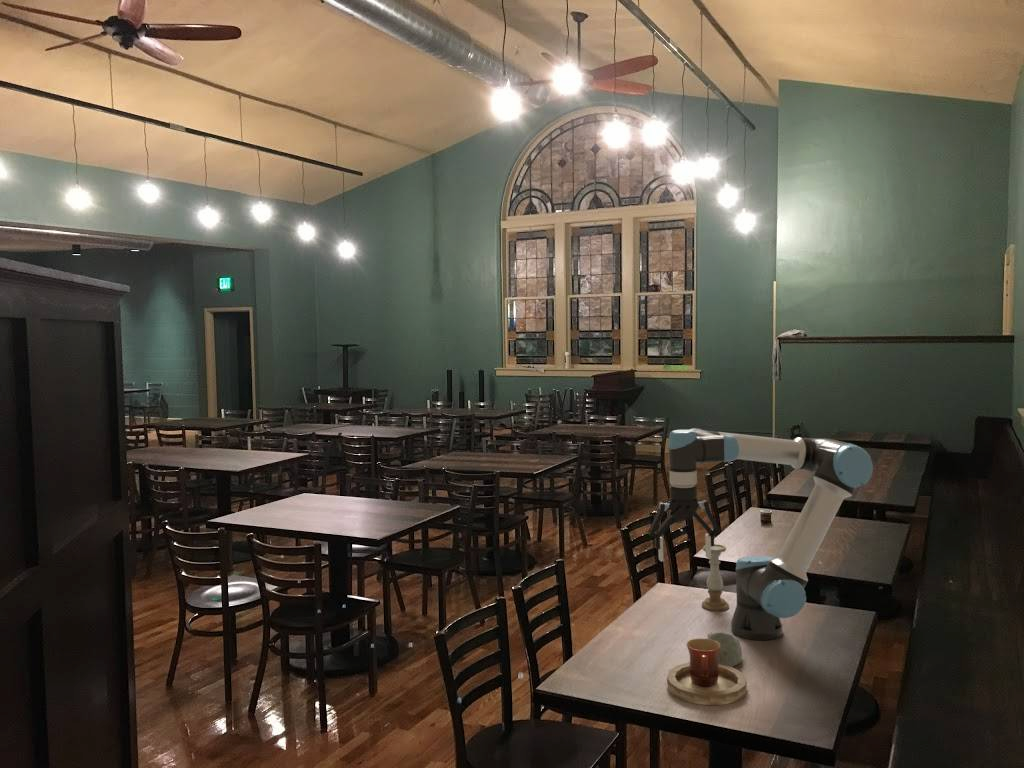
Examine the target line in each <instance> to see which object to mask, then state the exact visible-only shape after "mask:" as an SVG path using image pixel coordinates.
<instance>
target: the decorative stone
mask: <svg viewBox="0 0 1024 768" xmlns="http://www.w3.org/2000/svg"><path fill="white" fill-rule="evenodd" d="M706 637H707V638H706V639H712V640H715V641H717V642H719V643H720V645H721V648H720V651H719V655H718V663H720V664H723V665H727V666H731V667H733V668H734V667H735V666H738V665H739V664H741V662H742V659H743V652H742V650H743V649H742V646H741V643H740V640H739V639H738V638H737V637H735V636H734V635H733V634H731V633H728V632H726V631H725V632H723V631H713V632H710V633H708V634H707V636H706Z"/></svg>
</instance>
